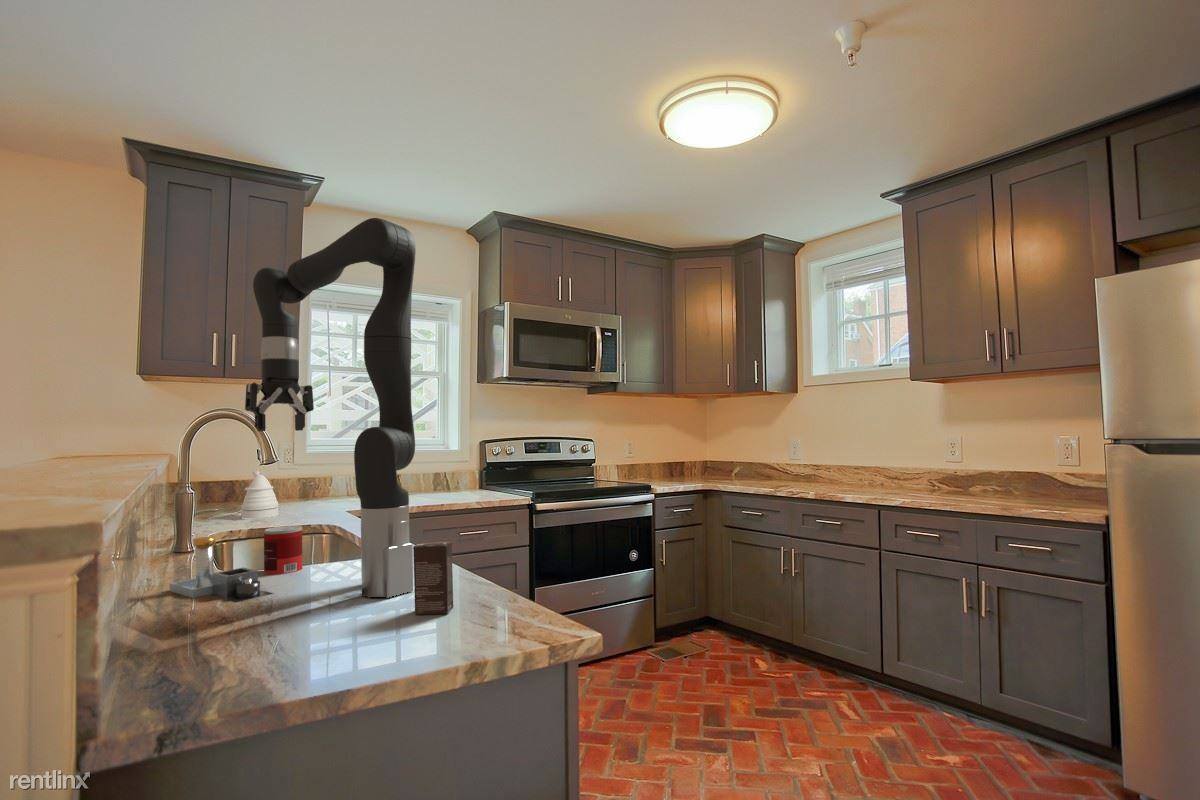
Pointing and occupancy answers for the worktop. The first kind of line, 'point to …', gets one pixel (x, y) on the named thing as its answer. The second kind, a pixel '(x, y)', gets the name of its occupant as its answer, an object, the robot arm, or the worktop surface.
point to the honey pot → (259, 499)
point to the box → (433, 578)
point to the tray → (186, 589)
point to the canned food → (282, 550)
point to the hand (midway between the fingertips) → (280, 430)
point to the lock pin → (204, 561)
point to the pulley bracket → (237, 585)
